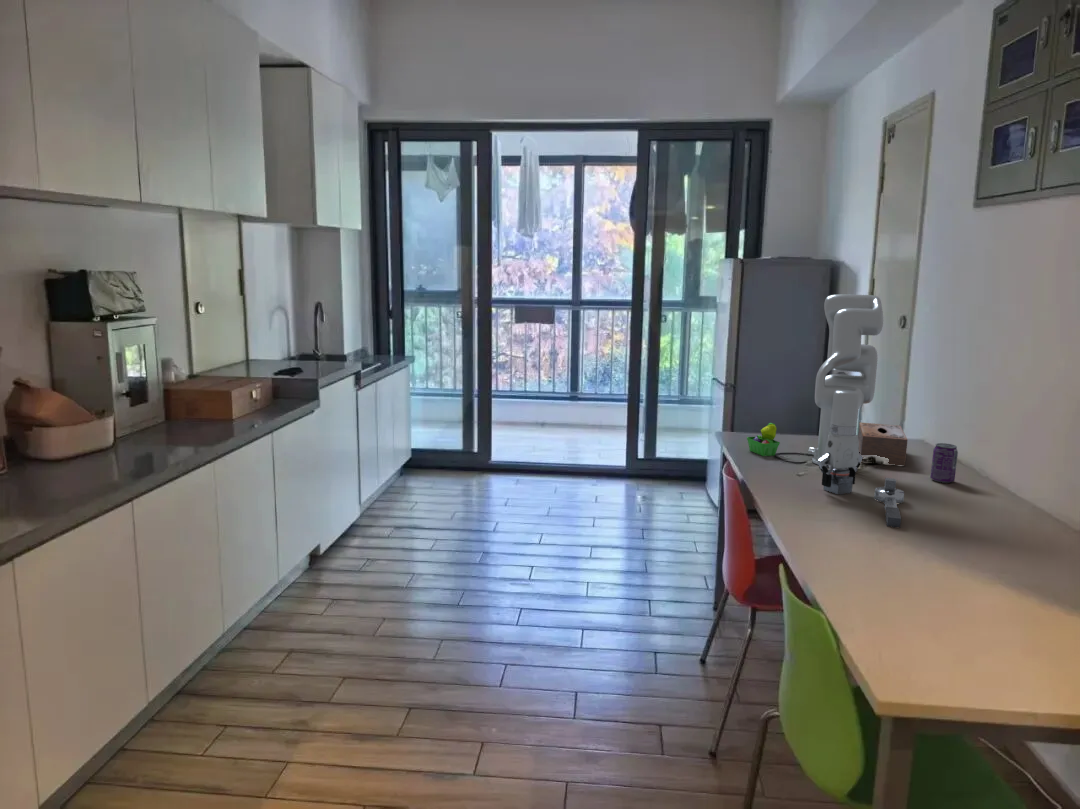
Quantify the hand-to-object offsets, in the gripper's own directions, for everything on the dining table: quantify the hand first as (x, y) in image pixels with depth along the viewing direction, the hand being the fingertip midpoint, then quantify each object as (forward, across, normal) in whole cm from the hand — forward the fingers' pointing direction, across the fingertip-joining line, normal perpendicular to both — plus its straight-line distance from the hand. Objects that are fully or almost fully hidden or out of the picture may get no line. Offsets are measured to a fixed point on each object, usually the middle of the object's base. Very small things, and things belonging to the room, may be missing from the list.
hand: (838, 484), depth 238 cm
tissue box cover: (+2, +49, +29) cm, 57 cm away
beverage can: (+2, +42, -3) cm, 43 cm away
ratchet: (+2, 0, -20) cm, 20 cm away
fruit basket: (+2, +11, +48) cm, 49 cm away
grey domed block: (+2, 0, 0) cm, 2 cm away
